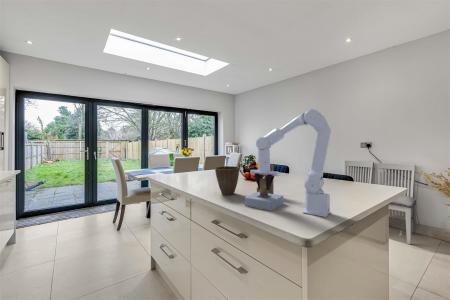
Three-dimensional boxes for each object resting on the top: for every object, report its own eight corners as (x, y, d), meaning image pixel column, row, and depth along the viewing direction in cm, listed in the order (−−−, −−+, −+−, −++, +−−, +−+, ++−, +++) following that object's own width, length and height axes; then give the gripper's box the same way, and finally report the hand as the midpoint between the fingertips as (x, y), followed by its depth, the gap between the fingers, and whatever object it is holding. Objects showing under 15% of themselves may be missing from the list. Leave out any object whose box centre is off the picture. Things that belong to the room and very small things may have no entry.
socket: (283, 203, 103) (283, 195, 102) (271, 210, 91) (271, 202, 91) (258, 199, 111) (258, 191, 111) (244, 205, 100) (244, 197, 100)
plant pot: (214, 197, 117) (213, 169, 116) (216, 191, 132) (215, 166, 131) (240, 197, 116) (240, 169, 116) (239, 191, 131) (239, 166, 131)
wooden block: (256, 195, 119) (256, 164, 119) (258, 193, 124) (258, 163, 123) (272, 196, 116) (271, 165, 115) (273, 194, 120) (273, 164, 119)
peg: (269, 194, 102) (269, 178, 101) (266, 196, 98) (266, 179, 98) (261, 193, 104) (261, 177, 103) (258, 195, 100) (258, 179, 100)
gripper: (247, 162, 102) (247, 189, 102) (274, 163, 93) (274, 193, 93) (254, 160, 108) (254, 186, 108) (280, 162, 99) (280, 190, 99)
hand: (264, 189), depth 101 cm, fingers closed on peg, 4 cm apart
